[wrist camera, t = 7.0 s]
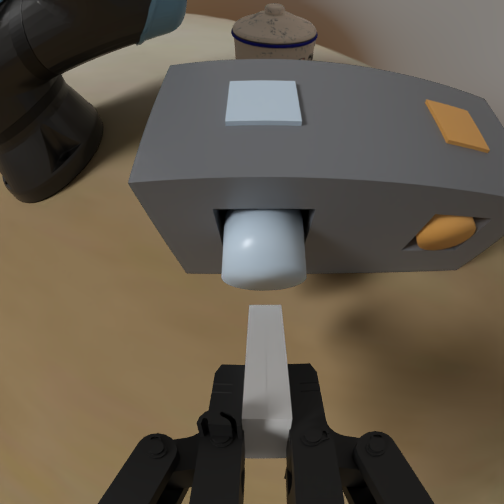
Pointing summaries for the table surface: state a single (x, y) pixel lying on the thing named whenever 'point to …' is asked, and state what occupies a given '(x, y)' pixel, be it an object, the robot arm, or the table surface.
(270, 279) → the pale blue button
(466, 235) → the orange button
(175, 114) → the button console
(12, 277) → the table surface
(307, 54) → the teacup with lid
